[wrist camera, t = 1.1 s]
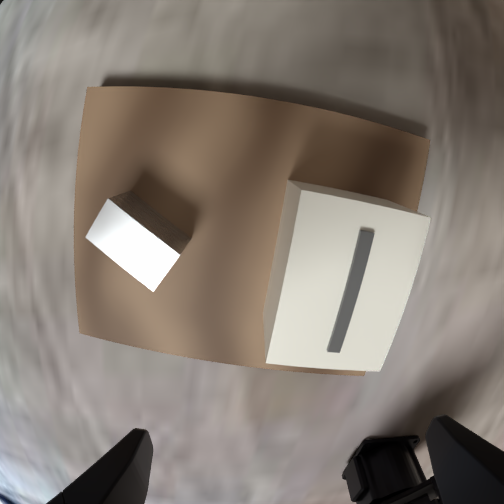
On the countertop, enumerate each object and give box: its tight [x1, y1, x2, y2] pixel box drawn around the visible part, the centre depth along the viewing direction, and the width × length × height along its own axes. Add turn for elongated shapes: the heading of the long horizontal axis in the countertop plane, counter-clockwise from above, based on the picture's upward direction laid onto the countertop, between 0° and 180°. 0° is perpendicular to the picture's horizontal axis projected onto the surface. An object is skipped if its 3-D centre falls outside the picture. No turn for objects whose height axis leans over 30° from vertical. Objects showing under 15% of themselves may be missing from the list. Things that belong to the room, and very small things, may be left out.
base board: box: [74, 86, 430, 376], centre depth 18 cm, size 20×16×2 cm
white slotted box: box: [263, 180, 431, 371], centre depth 15 cm, size 6×8×5 cm
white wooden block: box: [86, 191, 192, 291], centre depth 16 cm, size 2×4×3 cm, turn 51°
